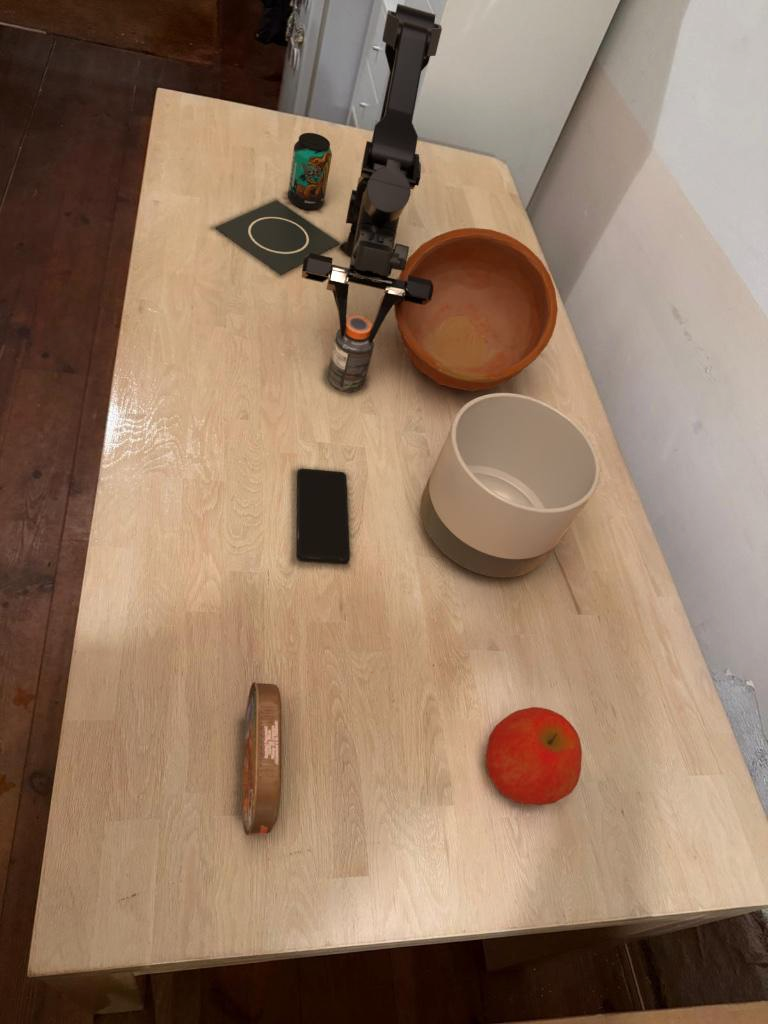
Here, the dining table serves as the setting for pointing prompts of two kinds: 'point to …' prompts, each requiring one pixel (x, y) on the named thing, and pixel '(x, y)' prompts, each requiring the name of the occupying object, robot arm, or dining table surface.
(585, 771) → the dining table surface
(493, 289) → the bowl
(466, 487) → the planter
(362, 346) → the pill bottle
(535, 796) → the apple
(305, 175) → the beverage can
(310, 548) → the smartphone
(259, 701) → the tin
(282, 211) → the slate board
